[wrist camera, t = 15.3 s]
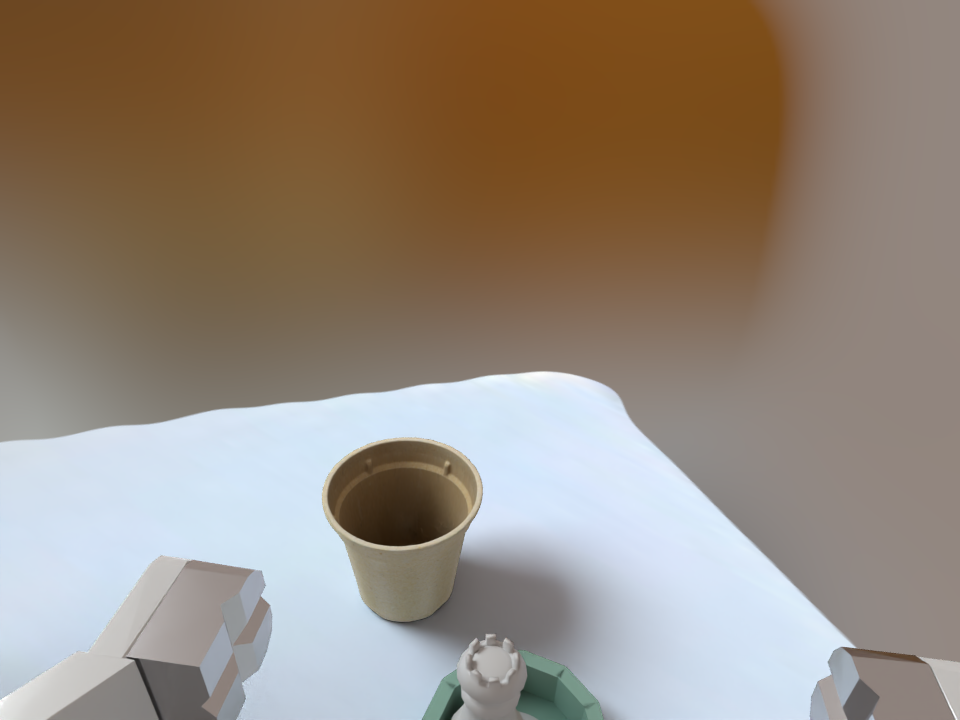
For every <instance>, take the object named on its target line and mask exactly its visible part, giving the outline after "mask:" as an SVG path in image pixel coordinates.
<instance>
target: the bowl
mask: <svg viewBox="0 0 960 720" xmlns="http://www.w3.org/2000/svg"><path fill="white" fill-rule="evenodd" d="M517 651H518V652H520V654H521V656H522V658H523V659H524V661H525V663H526V669H527V679H526V682H525V685H524V688H523V689H522V690H521V691H520V694H521V695H520V698H519V701H518V704H517V706H516V707H515V708H516V710H517V711H519V712H520V714H521V716H522V718H523V720H604V719H603V715H602V712H601V708H600V705H599V702H598V701H597V699H596V698H595V697H594V696H593V695H592V694H591V693H590V692H589V691H588V690H587V689H586V688H585V686H584V685H583V684H582V683H581V682H580V681H579V680H578V679H577V678H576V677H575V676H574V675H573V673H572V672H571V671H570V670H569V669H568V668H567V667H566V668H565V666H564V665H561V664H559V663H556V662H553V661H551V660H548V659H546V658H543V657H541V656H538V655H535V654H533V653H530V652H528V651H525V650H524V651H523V650H517ZM463 704H464V701H463V699H462V696H461V685H460V683H459V681H458V679H457V669H456V670H455V671H453V672H452V673H450V674H449V675H447V676H446V677H444V678H443V679H442V681H441V683H440V685H439V687H438V689H437V691H436V693H435V695H434V697H433V699H432V701H431V703H430V705H429V707H428V709H427V711H426V713H425V715H424V717H423V718H422V720H451V719H452V717H453V715H454V714H455V713H456V712H457V711H458V710H459V709H460V708H461V707H462V705H463Z"/></svg>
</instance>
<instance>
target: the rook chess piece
mask: <svg viewBox="0 0 960 720" xmlns="http://www.w3.org/2000/svg"><path fill="white" fill-rule="evenodd" d="M457 679H458V681H459V683H460V685H461V696H462V699H463V701H464V704H463V705H462V707H461V708H460V709H459V710H458V711H457V712H456V713H455V714H454V715H453V717H452V719H451V720H523V718H522V716H521V714H520V712H519V711H517V710H516V708H515V707H516V706H517V704H518V701H519V698H520V695H521V694H520V691H521V690H522V689H523V688H524V685H525V682H526V679H527V669H526V663H525V661H524V659H523V658H522V656H521V654H520V652H518V651H517V650H516V649H515V648H514V643H513V642H512V641H511V640H509V639H508V638H507V637H506V638H505V639H504V641H503V642H501V641H498V640H496V634H486V638H485V640H483V641H480V642H479V641H478V639H477V638H475V639H474V640H473V641H472V642H471V643H470V644H469V647H468V648H467V649H466V650H465V651H464V652H463V653H462V654H461V657H460V659H459V661H458V664H457Z"/></svg>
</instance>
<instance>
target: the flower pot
mask: <svg viewBox="0 0 960 720" xmlns="http://www.w3.org/2000/svg"><path fill="white" fill-rule="evenodd" d="M482 495H483V486H482V481H481V478H480V475H479V473H478V471H477V469H476V467H475V466H474V465H473V464H472V463H471V462H470V460H469V459H468V458H467V457H466V456H465V455H463V454H462V453H461V452H459V451H458V450H456V449H454V448H452V447H451V446H448V445H446V444H443V443H440V442H437V441H434V440H429V439H421V438H393V439H386V440H381V441H377V442H374V443H370V444H367V445H365V446H363V447H360V448H359V449H356V450H354V451H353V452H351V453H350V454H348V455H347V456H345V457H344V458H343V459H342V460H341V461H340V462H338V463H337V464H336V465H335V466H334V467H333V469H332V470H331V471H330V473H329V474H328V476H327V478H326V480H325V484H324V487H323V492H322V504H323V509H324V512H325V515H326V518H327V520H328V522H329V523H330V525H331V526H332V528H333V529H334V530H335V531H336V532H337V533H338V534H339V536H340V538H341V539H342V540H343V541H344V543H345V546H346V550H347V553H348V556H349V559H350V562H351V565H352V568H353V571H354V575H355V578H356V581H357V584H358V588H359V592H360V595H361V598H362V600H363V602H364V603H365V604H366V605H367V606H368V607H369V608H370V609H372V610H373V611H374V612H375V613H377V614H378V615H379V616H380V617H382V618H384V619H388V620H392V621H398V622H409V621H415V620H420V619H423V618H426V617H428V616H430V615H432V614H433V613H434V612H435V611H436V610H437V609H438V608H439V607H440V606H441V605H442V604H444V603H445V602H446V601H447V600H448V599H449V597H450V595H451V593H452V590H453V586H454V580H455V576H456V571H457V567H458V562H459V558H460V553H461V549H462V544H463V540H464V536H465V532H466V531H467V529H468V528H469V526H470V523H471V522H472V521H473V519H474V518H475V516H476V514H477V512H478V510H479V508H480V505H481V501H482Z"/></svg>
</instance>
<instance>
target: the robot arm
mask: <svg viewBox="0 0 960 720" xmlns="http://www.w3.org/2000/svg"><path fill="white" fill-rule="evenodd" d="M265 586H266V585H265V581H264V577H263V574H262V571H260V570H254V569H247V568H241V567H234V566H228V565H222V564H215V563H209V562H202V561H196V560H190V559H183V558H176V557H169V556H160V557H159V558H157V559H156V560H155V561H153V562H152V563H151V564H150V565H149V566H148V567H147V569H146V570H145V572H144V573H143V574H142V576H141V577H140V579H139V580H138V581H137V583H136V584H135V586H134V587H133V589H132V590H131V591H130V593H129V594H128V596H127V597H126V599H125V600H124V601H123V603H122V604H121V606H120V607H119V608H118V610H117V611H116V613H115V614H114V616H113V617H112V618H111V620H110V621H109V623H108V624H107V626H106V627H105V628H104V630H103V631H102V633H101V634H100V635H99V637H98V638H97V640H96V641H95V643H94V644H93V645H92V647H91V648H90V650H89V651H88V652H81V651H77V652H76V653H74V654H72V655H71V656H69V657H68V658H66V659H65V660H63V661H61V662H60V663H58V664H57V665H55V666H53V667H52V668H50V669H49V670H47V671H46V672H44V673H42V674H41V675H39V676H38V677H36V678H34V679H33V680H31V681H30V682H28V683H26V684H25V685H23V686H22V687H20V688H19V689H17V690H15V691H14V692H12V693H11V694H9V695H7V696H6V697H4V698H3V699H1V700H0V720H236V719H237V717H238V715H239V713H240V710H241V708H242V706H243V704H244V702H245V699H246V698H245V693H244V689H243V685H242V682H244V681H245V680H246V679H248V678H249V677H250V676H251V675H253V674H254V673H255V672H257V671H258V670H259V668H260V666H261V664H262V661H263V659H264V657H265V654H266V652H267V648H268V644H269V640H270V636H271V632H272V613H271V608H270V605H269V604H268V603H267V602H266V601H265V600H264V599H263V598H262V597H261V594H262V592H263V590H264V588H265ZM828 664H829V667H830V670H831V674H832V675H830V676H828V677H826V678H824V679H822V680H820V681H818V682H817V685H816V687H815V689H814V692H813V694H812V696H811V708H810V720H960V663H959V662H955V661H947V660H939V659H930V658H922V657H921V658H920V657H917V656H915V655H907V654H899V653H890V652H882V651H873V650H865V649H857V648H848V647H840V648H838V649H836V650H834V651H833V653H832V655H831V657H830V659H829V661H828Z"/></svg>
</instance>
